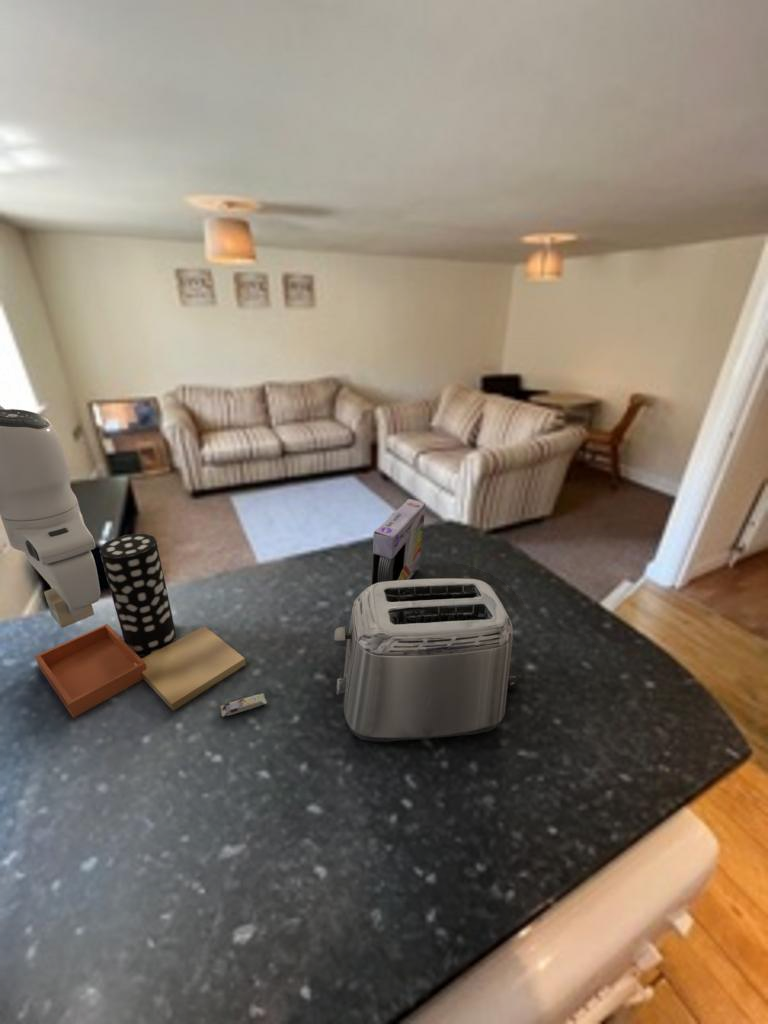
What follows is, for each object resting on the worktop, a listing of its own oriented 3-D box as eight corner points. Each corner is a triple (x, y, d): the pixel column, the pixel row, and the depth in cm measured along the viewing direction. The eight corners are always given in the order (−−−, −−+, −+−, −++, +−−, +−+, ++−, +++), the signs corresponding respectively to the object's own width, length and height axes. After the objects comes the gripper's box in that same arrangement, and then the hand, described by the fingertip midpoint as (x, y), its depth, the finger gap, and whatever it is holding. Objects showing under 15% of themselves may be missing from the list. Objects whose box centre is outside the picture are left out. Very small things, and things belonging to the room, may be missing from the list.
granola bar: (264, 695, 72) (264, 690, 71) (267, 706, 70) (266, 701, 69) (220, 708, 69) (219, 703, 69) (221, 719, 67) (221, 714, 67)
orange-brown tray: (39, 668, 75) (34, 655, 74) (110, 635, 83) (107, 623, 82) (73, 718, 67) (68, 704, 66) (148, 675, 75) (145, 663, 74)
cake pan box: (388, 612, 92) (391, 536, 84) (366, 605, 94) (368, 530, 86) (421, 568, 108) (426, 501, 100) (402, 563, 110) (406, 497, 102)
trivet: (134, 669, 76) (133, 663, 75) (205, 631, 85) (204, 625, 84) (173, 711, 68) (171, 704, 68) (245, 664, 78) (245, 658, 77)
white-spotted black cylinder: (180, 644, 82) (160, 549, 73) (129, 662, 77) (102, 563, 69) (171, 620, 88) (151, 529, 79) (123, 635, 84) (97, 541, 75)
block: (51, 615, 70) (43, 591, 68) (83, 602, 73) (76, 579, 71) (61, 628, 67) (53, 603, 65) (94, 614, 70) (88, 590, 69)
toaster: (336, 666, 78) (334, 573, 70) (501, 659, 80) (517, 569, 73) (335, 754, 63) (332, 648, 55) (538, 741, 65) (564, 638, 57)
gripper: (-3, 510, 67) (24, 587, 73) (43, 559, 56) (71, 646, 61) (47, 499, 72) (68, 572, 77) (99, 542, 60) (119, 624, 66)
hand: (70, 605), depth 69 cm, fingers closed on block, 4 cm apart
